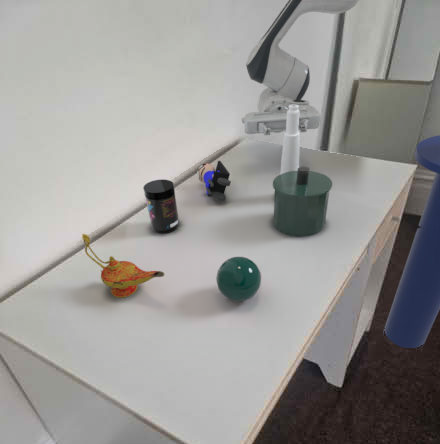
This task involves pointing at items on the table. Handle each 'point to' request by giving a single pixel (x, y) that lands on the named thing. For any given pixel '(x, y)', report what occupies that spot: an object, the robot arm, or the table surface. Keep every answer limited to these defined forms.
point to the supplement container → (162, 205)
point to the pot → (300, 214)
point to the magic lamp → (121, 274)
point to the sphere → (238, 279)
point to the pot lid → (302, 183)
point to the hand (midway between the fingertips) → (285, 130)
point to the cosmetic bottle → (291, 141)
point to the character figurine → (214, 180)
